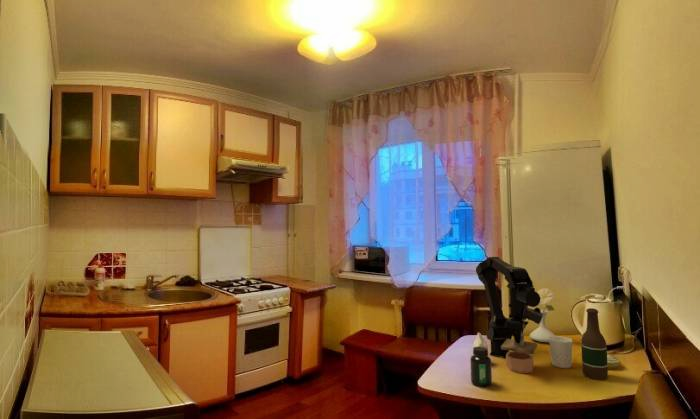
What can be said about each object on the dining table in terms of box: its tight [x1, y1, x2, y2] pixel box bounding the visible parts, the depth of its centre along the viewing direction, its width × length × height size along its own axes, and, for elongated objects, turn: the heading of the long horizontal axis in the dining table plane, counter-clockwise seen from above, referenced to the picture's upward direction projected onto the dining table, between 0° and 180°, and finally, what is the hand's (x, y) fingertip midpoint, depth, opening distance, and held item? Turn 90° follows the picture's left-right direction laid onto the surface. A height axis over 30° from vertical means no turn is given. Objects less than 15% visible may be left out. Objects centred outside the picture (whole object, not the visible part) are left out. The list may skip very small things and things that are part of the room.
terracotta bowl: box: [505, 351, 535, 374], centre depth 144 cm, size 9×9×5 cm
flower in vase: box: [529, 287, 556, 343], centre depth 175 cm, size 13×11×25 cm
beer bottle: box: [580, 307, 609, 381], centre depth 136 cm, size 8×8×24 cm
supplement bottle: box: [470, 347, 493, 388], centre depth 131 cm, size 7×7×12 cm
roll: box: [472, 332, 489, 350], centre depth 150 cm, size 6×12×6 cm
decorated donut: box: [607, 353, 622, 370], centre depth 146 cm, size 10×11×4 cm
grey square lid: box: [501, 333, 538, 355], centre depth 144 cm, size 11×11×5 cm
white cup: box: [548, 335, 573, 369], centre depth 146 cm, size 8×8×10 cm
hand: (518, 342), depth 144 cm, fingers closed on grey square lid, 3 cm apart
